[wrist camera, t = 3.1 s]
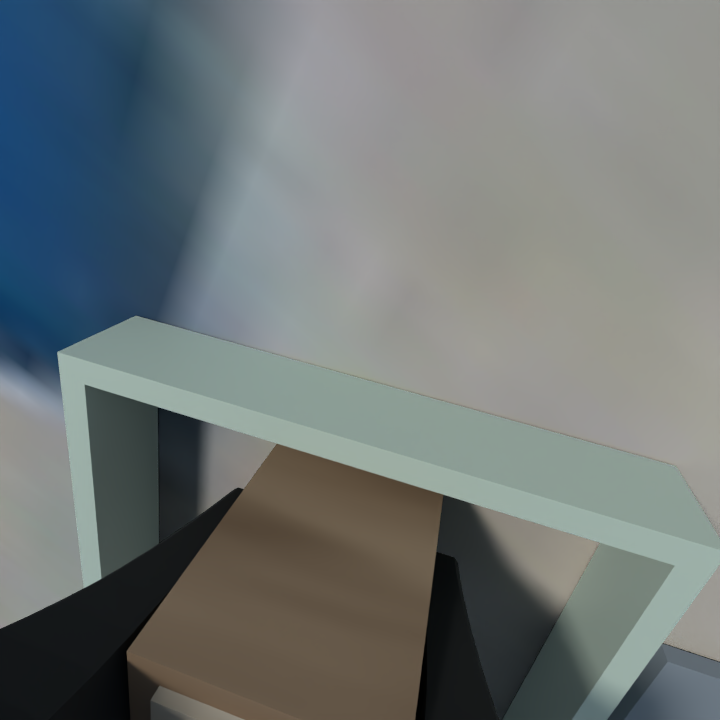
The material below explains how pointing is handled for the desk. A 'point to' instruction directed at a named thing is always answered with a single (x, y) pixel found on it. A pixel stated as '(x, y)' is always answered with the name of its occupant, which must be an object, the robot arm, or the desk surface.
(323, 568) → the labelled block
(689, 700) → the mat
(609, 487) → the bin
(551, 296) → the desk surface
